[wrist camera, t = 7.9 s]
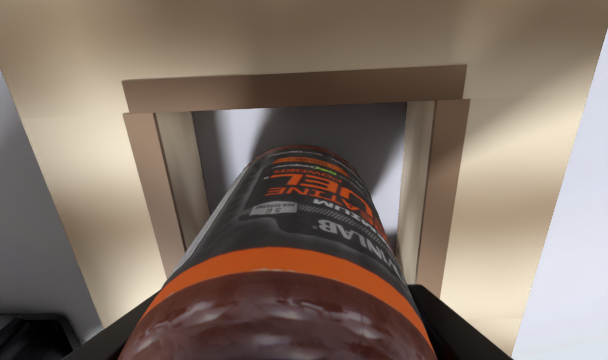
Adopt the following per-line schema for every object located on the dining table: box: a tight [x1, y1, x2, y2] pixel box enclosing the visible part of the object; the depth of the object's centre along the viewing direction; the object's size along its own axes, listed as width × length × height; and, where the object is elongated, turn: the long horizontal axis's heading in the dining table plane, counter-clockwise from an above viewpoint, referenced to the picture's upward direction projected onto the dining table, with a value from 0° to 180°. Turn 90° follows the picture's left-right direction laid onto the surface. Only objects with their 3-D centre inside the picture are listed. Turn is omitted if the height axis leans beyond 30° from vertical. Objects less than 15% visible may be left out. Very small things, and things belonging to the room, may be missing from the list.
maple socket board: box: [0, 0, 608, 357], centre depth 12 cm, size 18×18×3 cm
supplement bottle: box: [117, 145, 437, 360], centre depth 8 cm, size 6×6×11 cm
